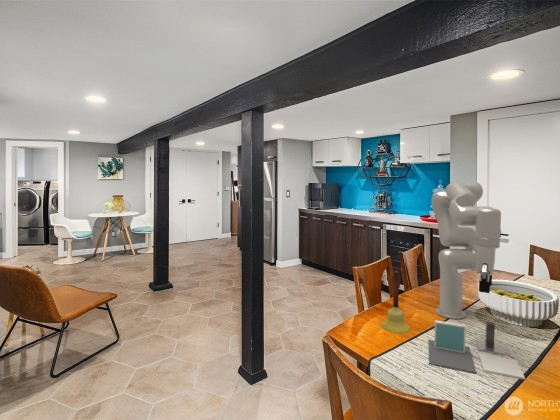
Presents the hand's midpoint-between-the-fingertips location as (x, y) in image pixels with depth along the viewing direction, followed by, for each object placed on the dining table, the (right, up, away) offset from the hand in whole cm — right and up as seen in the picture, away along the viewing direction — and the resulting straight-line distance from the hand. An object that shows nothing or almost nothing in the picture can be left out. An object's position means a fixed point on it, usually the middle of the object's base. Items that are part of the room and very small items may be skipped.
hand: (485, 288), depth 115 cm
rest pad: (0, -25, -8) cm, 26 cm away
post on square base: (+4, -24, +4) cm, 24 cm away
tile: (-12, -18, +2) cm, 22 cm away
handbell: (-25, -23, +23) cm, 41 cm away
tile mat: (-14, -24, -1) cm, 28 cm away
